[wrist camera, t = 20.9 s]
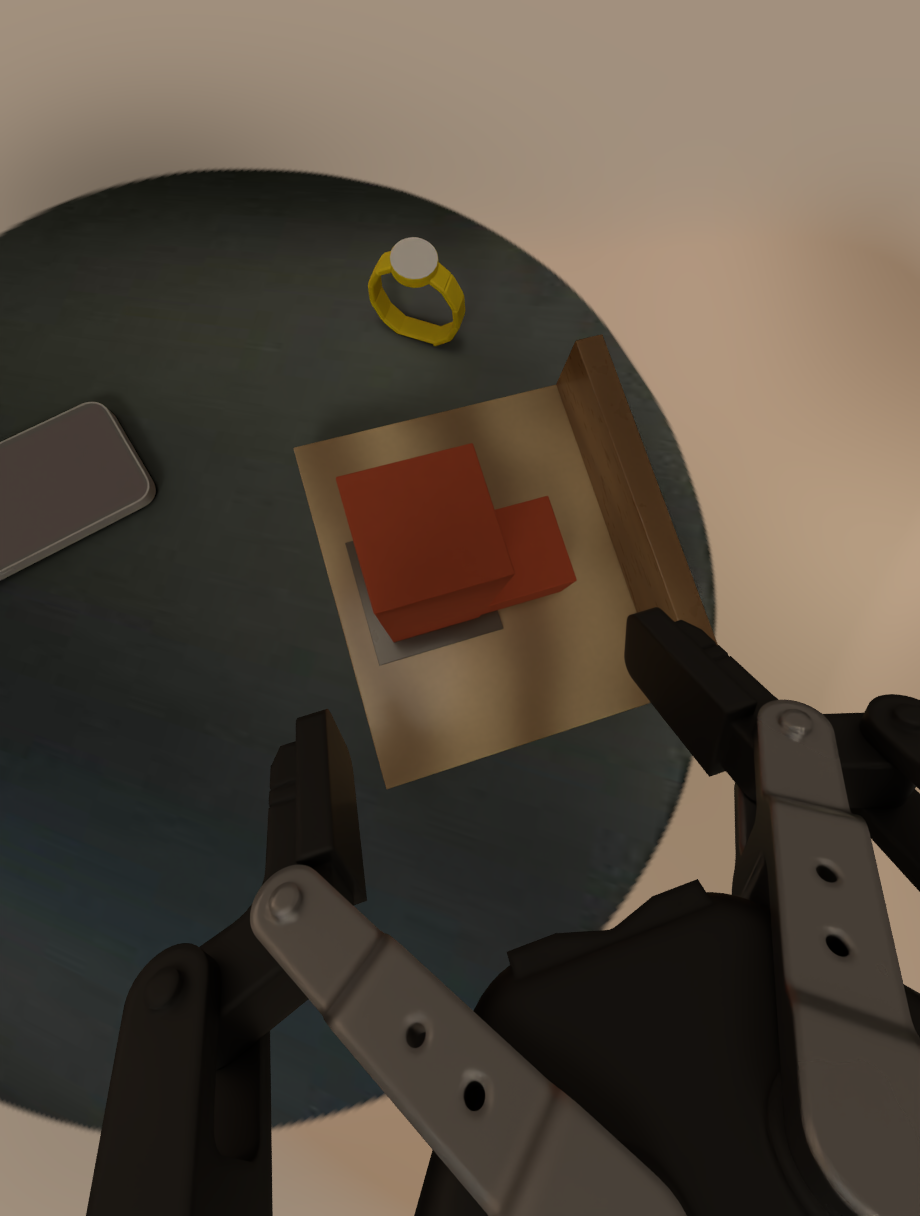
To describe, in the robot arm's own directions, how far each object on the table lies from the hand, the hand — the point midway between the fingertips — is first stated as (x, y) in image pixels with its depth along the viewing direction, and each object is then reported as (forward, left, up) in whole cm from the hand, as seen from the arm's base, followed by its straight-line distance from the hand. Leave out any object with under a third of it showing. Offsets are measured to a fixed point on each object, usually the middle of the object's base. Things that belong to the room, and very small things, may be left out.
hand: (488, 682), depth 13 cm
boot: (+4, +5, -14) cm, 16 cm away
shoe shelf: (+5, +5, -18) cm, 19 cm away
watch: (+10, +22, -18) cm, 30 cm away
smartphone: (-17, +22, -18) cm, 33 cm away
